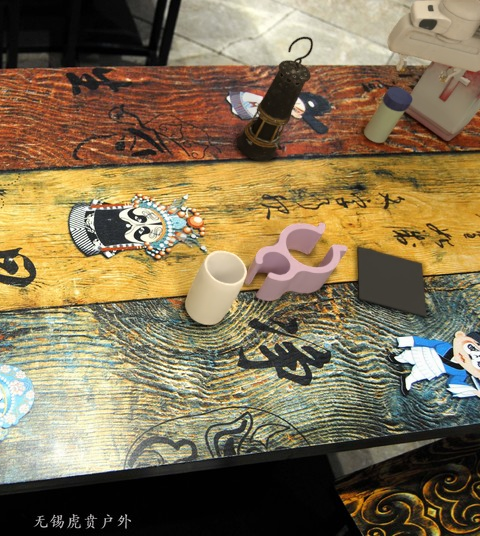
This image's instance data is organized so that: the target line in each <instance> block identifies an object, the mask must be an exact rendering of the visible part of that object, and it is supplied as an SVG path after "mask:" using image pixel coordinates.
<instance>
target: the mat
mask: <svg viewBox="0 0 480 536" xmlns="http://www.w3.org/2000/svg"><path fill="white" fill-rule="evenodd" d="M357 289H358V290H357V291H358V300H359V301H364V302H367V303H371V304H375V305H378V306H382V307H386V308H390V309H393V310H397V311H401V312H405V313H409V314H412V315H415V316H420V317H423V318H426V317H427V306H426V295H425V294H426V293H425V285H424V273H423V263H421V262H417V261H414V260H410V259H406V258H402V257H399V256H396V255H391V254H387V253H385V252H380V251H377V250H373V249H369V248H366V247H362V246H357Z"/></svg>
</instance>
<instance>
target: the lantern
mask: <svg viewBox="0 0 480 536" xmlns="http://www.w3.org/2000/svg"><path fill="white" fill-rule="evenodd" d="M301 40H308V41H309V42H310V45H309V50H308V51H307V52H306V54H304V55H303V56H300V57H297V58H295V59H294V60H291V59H290V60H288V59H287V60H286V59H285V60H282V61H281V62H280V63H279V64H278V71H277V72H276V74H275V77H273V78H274V79H273V80H272V81H271V84H270V85H269V87H268V89H267V90H266V92H265V95H264V96H263V97H262V99H261V100H260V102H259V103H258V105H257V107H256V112H255V113H254V115H253V116H252V119H251V121H250V122H248V123H247V124H246V126H245V128H244V130H243V131H242V133H241V134H240V135H239V136H238V138H237V147H238V150H239V151H240V152H241V153H242V154H243V155H244V156H246V157H247V158H249V159H251V160H252V161H253V160H254V161H257V162H266V161H270V160H272V159H273V158H274V157H275V155H276V153H277V149H278V150H279V151H282V150H283V147H282V146H281V141H282V134H283V132H284V131H285V127H286V125H287V124H288V123H289V122H290V119H291V117H292V114H293V110H294V108H295V106H296V104H297V101H298V99H299V97H300V95H301V92H302V91H303V88H304V86H305V84H306V83H307V82H309V81H310V80H311V77H312V75H311V72H310V69H309V68H308V67H307V66H305V65H304V64H302V62H303V59H306V58H308V56H310V54H311V53H312V51H313V49H314V48H313V47H314V41H313V38H311V37H310V36H300V37H297V38H296V39H295V40H293V41H292V42H291V43H290V45H289V46H288V50H287V51H288V52H287V53H291V52H292V51H291V50H292V47H293V46H294V45H295V44H297V42H299V41H301ZM256 117H257V118H256ZM281 126H282V128H281ZM280 129H281V130H280Z"/></svg>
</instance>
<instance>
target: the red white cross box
mask: <svg viewBox="0 0 480 536" xmlns="http://www.w3.org/2000/svg"><path fill="white" fill-rule="evenodd" d="M452 67H453V66H449V65H445V64H441V63H437V62H433V61H430V63H429V65H428V66H427V67H426V69H425V71H424V72H423V73H422V76H421V77H420V78H419V80H418V82H417V83H416V85H415V86H414V88H413V89H412V91H411V92H410V93H409V94H410V95H411V96H412V103H411V104H410V106H409V107H408V109H407V110H405V112H404V113H405V114H407V115H409V117H411V118H412V119H414V120H415V121H417V122H418V123H420V124H421V125H423V126H424V128H427V129H428V130H429V131H431V132H432V133H433V134H434V135H436V136H438V137H439V138H441V139H442V140H443V141H445V142H449V141H452V140H453V139H454V138H455V137H457V136H458V135H459V134H460V133H462V132H463V131H464V129H465V126H467V125H468V124H469V123H470V122H471V121H472V119H474V117H475V116H476V115H477V113H478V112H479V110H480V70H479V71H477V72H473V71H469V70H465V69H462V70H461V71H460V72H459V73H458V74H456V75H454V76H452V77H450V78H449V80H448V81H447V82H446V83H445V82H441V81H439V75H440V74H441V72H442V71H447V70H449V69H451V68H452Z"/></svg>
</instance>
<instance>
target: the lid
mask: <svg viewBox="0 0 480 536" xmlns="http://www.w3.org/2000/svg"><path fill="white" fill-rule="evenodd" d="M410 94H411V93H410V92H409V91H408V90H406V89H404V88H401V87H398V86H391V87H389V88H388V89H387V91H386V92H385V93H384V95H383V97H382V99H383V102H384V103H385V105H386V106H387V107H389V108H390V109H392V110H395V111H405V110H407V109H408V107H409V106H410V104H411V103H412V96H411V95H410Z"/></svg>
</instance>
